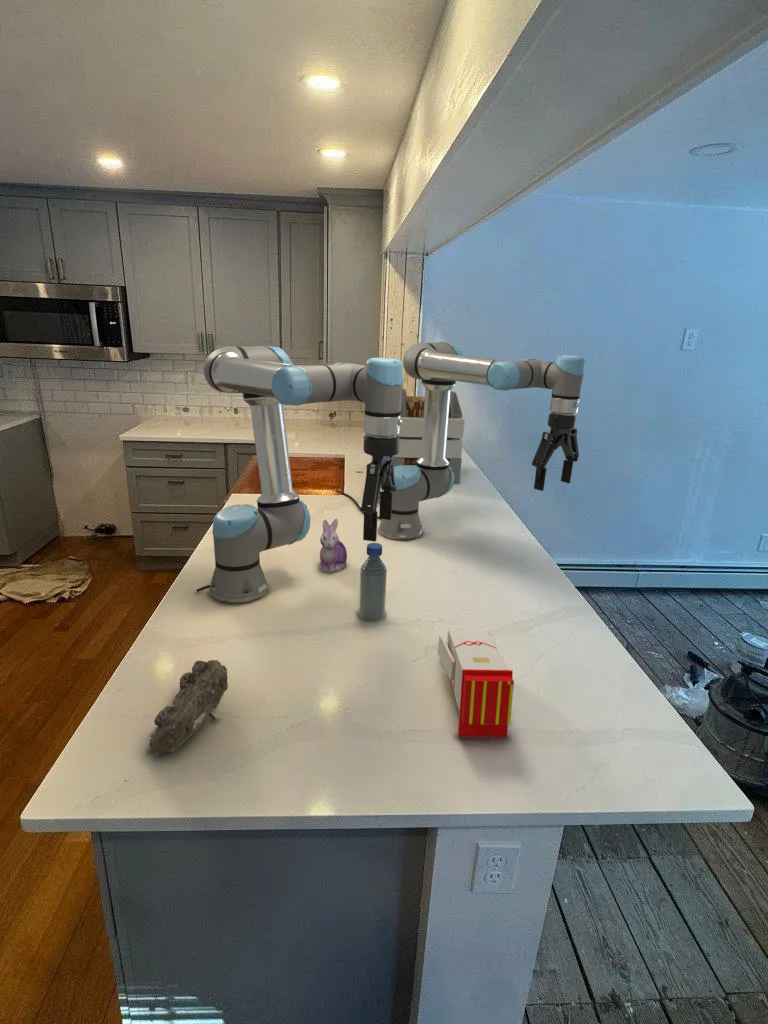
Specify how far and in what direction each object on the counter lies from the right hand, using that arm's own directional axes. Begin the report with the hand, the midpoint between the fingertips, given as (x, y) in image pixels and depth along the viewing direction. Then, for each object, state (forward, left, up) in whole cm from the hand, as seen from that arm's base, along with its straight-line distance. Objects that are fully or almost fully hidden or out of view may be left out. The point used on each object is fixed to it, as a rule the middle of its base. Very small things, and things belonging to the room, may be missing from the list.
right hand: (552, 485), depth 166 cm
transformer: (-101, +46, -28) cm, 115 cm away
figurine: (-40, -49, -28) cm, 70 cm away
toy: (+26, -62, -28) cm, 72 cm away
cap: (-11, -58, -9) cm, 59 cm away
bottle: (-11, -58, -28) cm, 65 cm away
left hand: (-2, -65, 0) cm, 65 cm away
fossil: (-1, -109, -28) cm, 113 cm away
